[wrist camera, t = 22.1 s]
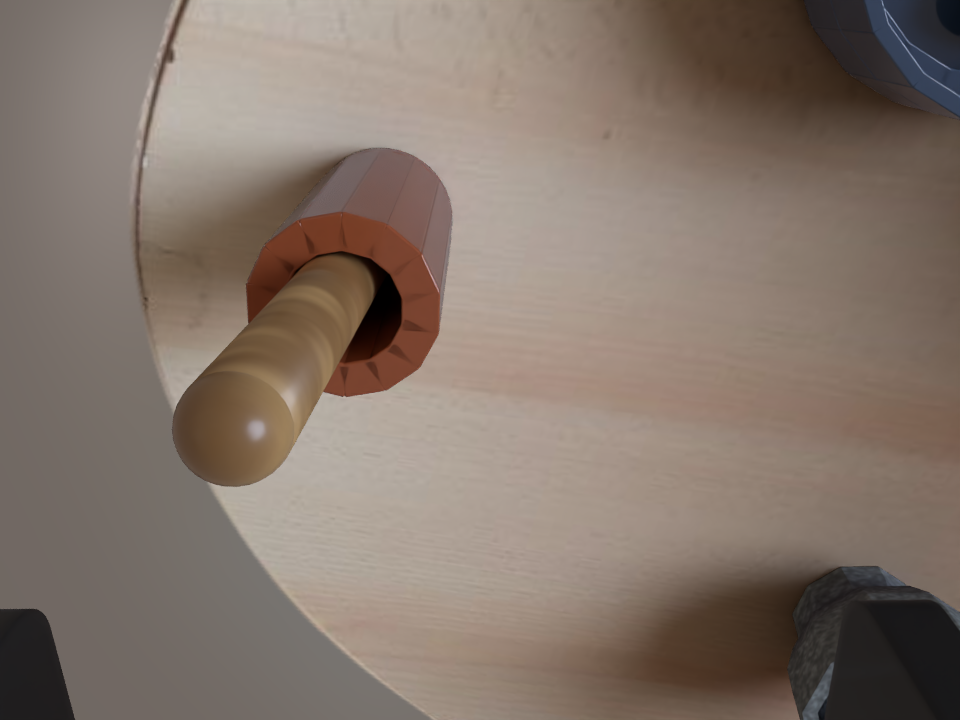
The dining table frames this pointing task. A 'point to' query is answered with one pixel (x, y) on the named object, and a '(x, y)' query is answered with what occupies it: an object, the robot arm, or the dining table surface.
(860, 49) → the bowl
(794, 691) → the mortar and pestle
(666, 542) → the dining table surface
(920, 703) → the robot arm
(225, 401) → the stick
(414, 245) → the crock
